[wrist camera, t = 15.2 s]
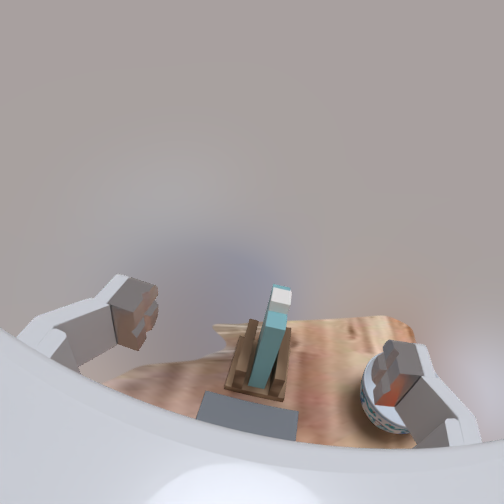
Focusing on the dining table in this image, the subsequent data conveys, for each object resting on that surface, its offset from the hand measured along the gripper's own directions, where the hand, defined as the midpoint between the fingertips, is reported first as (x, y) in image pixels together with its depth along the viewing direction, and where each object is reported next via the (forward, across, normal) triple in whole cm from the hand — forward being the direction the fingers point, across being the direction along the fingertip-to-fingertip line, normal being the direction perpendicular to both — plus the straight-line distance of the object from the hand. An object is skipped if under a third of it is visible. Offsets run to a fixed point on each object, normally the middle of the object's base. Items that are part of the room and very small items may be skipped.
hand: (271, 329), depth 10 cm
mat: (+11, -2, +32) cm, 34 cm away
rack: (+24, -2, +32) cm, 40 cm away
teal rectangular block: (+24, -2, +31) cm, 39 cm away
